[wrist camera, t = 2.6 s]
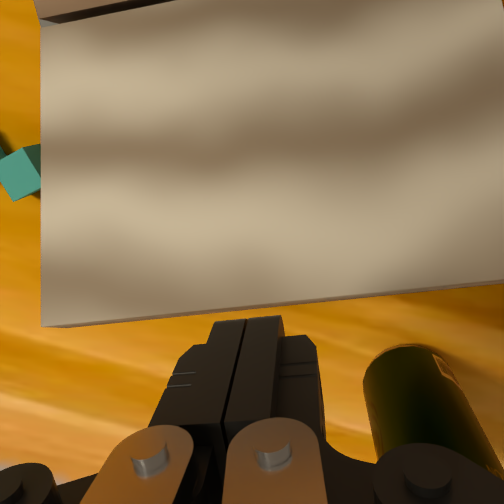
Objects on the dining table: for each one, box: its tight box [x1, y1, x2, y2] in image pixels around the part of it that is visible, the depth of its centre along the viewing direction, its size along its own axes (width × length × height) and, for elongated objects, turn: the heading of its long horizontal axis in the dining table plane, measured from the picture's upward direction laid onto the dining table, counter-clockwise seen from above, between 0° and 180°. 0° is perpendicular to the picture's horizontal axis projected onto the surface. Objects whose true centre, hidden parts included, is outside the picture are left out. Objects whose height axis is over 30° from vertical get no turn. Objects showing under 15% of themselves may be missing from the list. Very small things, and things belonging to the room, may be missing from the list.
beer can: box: [363, 344, 504, 480], centre depth 24 cm, size 5×5×12 cm
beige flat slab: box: [41, 0, 504, 328], centre depth 20 cm, size 14×20×2 cm
